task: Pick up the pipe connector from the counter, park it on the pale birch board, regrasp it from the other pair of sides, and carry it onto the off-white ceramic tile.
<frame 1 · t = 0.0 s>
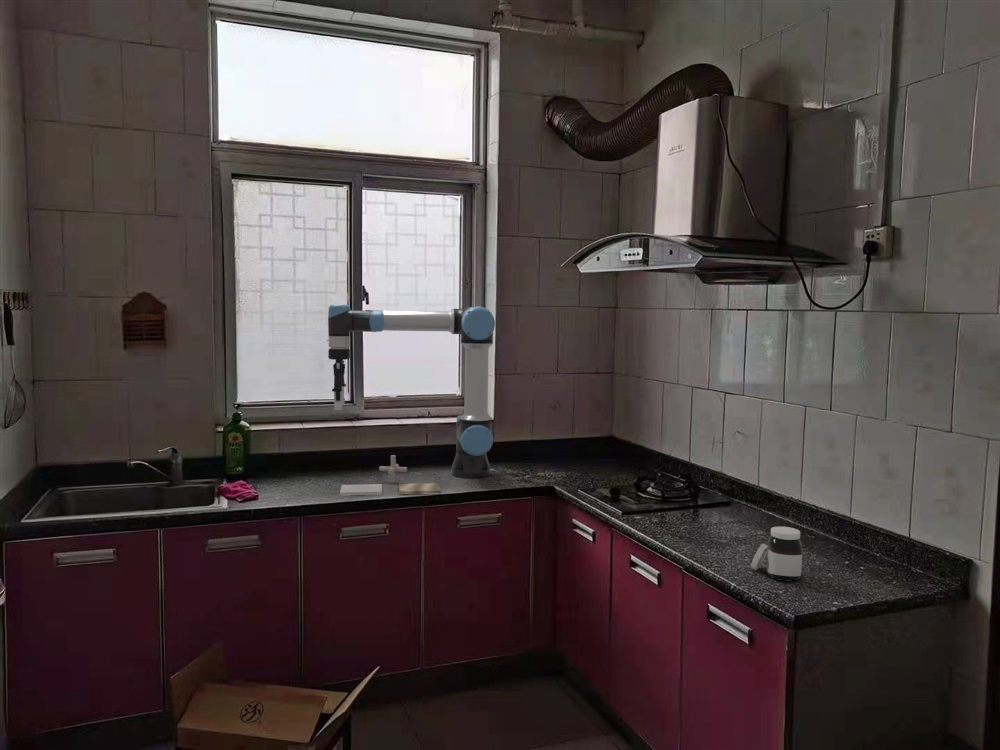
hand: (339, 407, 274), 28 cm above the worktop, tool pointing down, fingers open, 13 cm apart
pipe connector: (393, 483, 281), on the worktop
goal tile: (361, 491, 267), on the worktop
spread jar: (774, 575, 190), on the worktop
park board: (419, 490, 270), on the worktop
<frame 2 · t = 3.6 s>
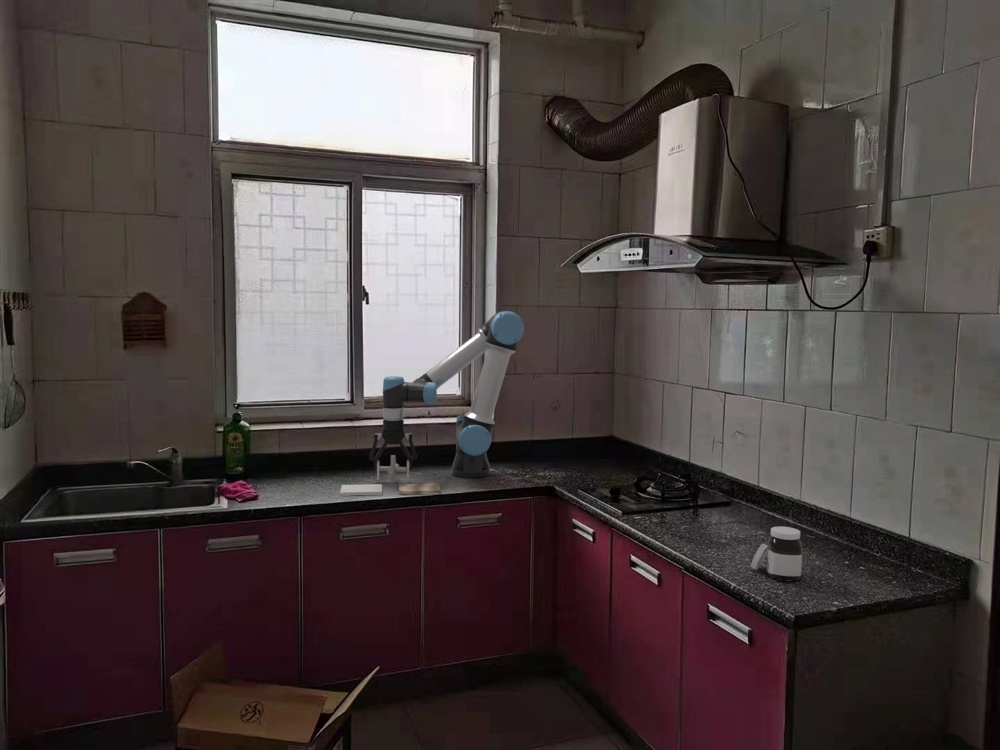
hand: (393, 479, 281), 1 cm above the worktop, tool pointing down, fingers closed on pipe connector, 10 cm apart
pipe connector: (393, 483, 281), on the worktop, touching gripper
everything else where it was.
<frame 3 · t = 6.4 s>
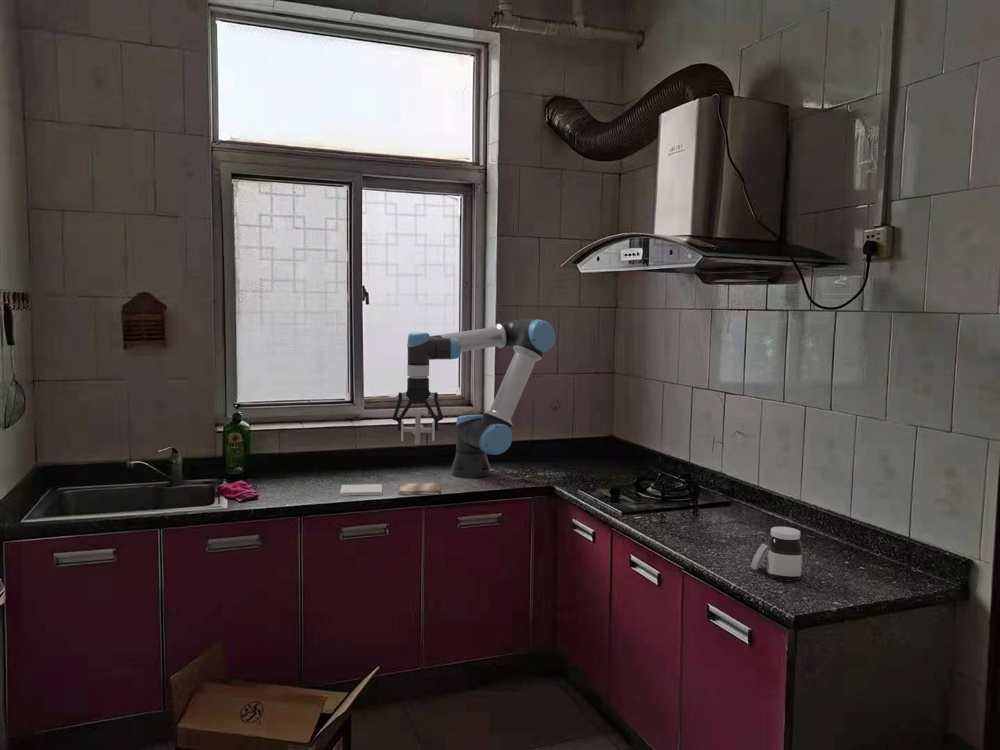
hand: (417, 440, 268), 18 cm above the worktop, tool pointing down, fingers closed on pipe connector, 10 cm apart
pipe connector: (417, 444, 269), point 16 cm above the worktop, touching gripper
everything else where it was.
when the fingers open (4 cm above the worktop, at t = 9.7 s): pipe connector drops 1 cm, resting on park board.
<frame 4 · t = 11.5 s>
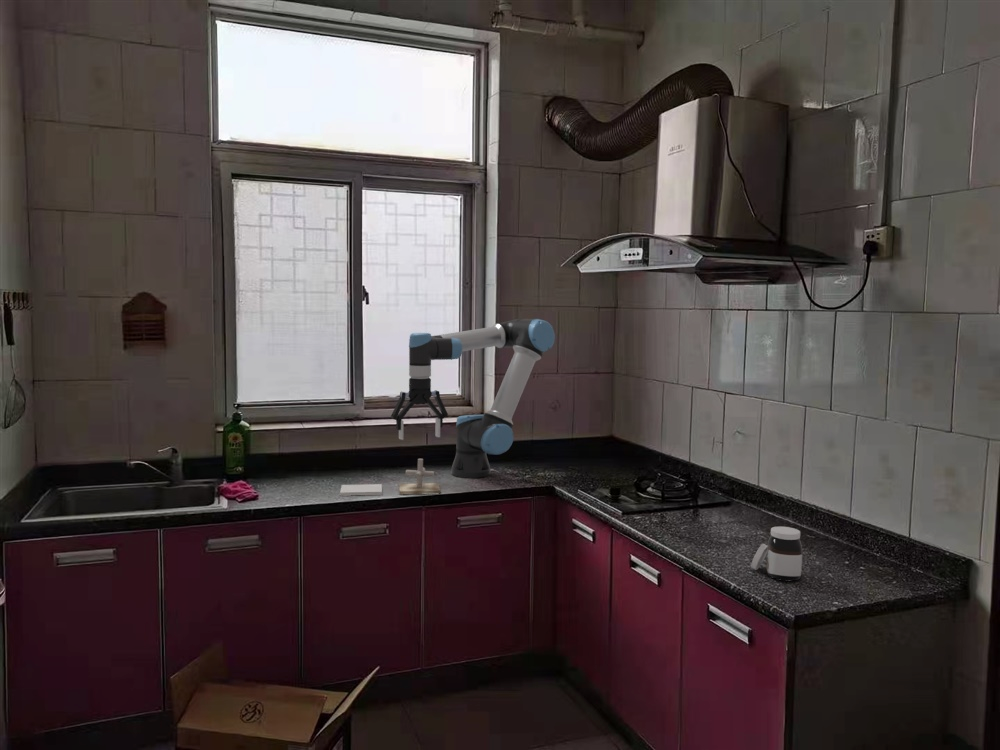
hand: (419, 438, 268), 19 cm above the worktop, tool pointing down, fingers open, 13 cm apart
pipe connector: (419, 487, 269), point 1 cm above the worktop, touching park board
everything else where it was.
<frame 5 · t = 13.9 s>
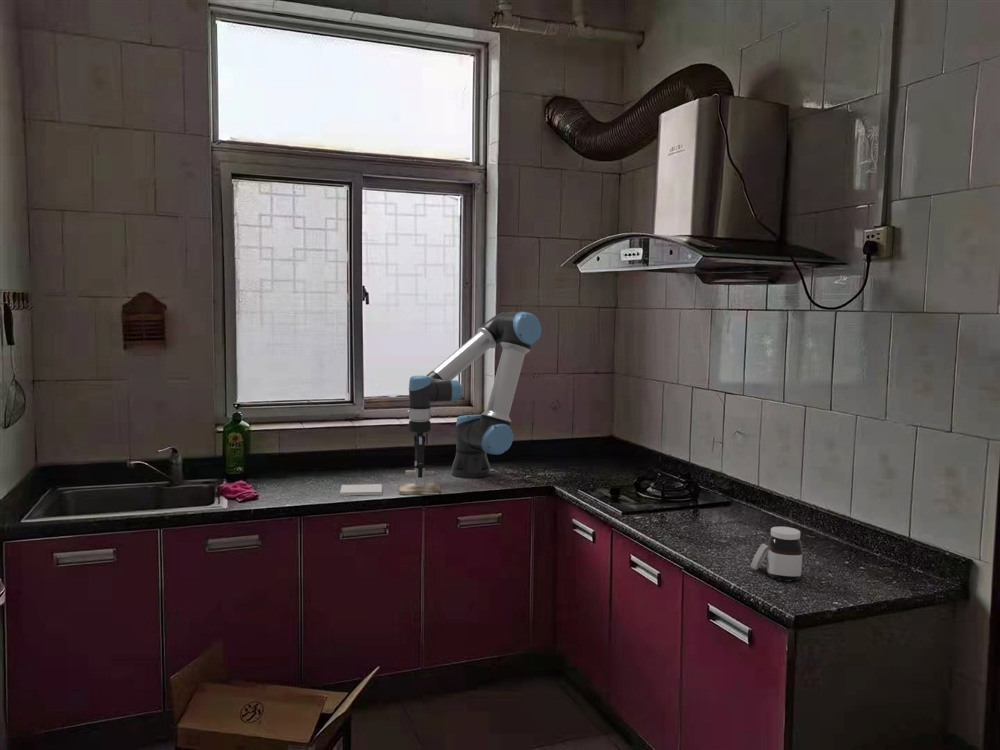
hand: (419, 482, 269), 3 cm above the worktop, tool pointing down, fingers closed on pipe connector, 10 cm apart
pipe connector: (419, 487, 269), point 1 cm above the worktop, touching gripper, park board
everything else where it was.
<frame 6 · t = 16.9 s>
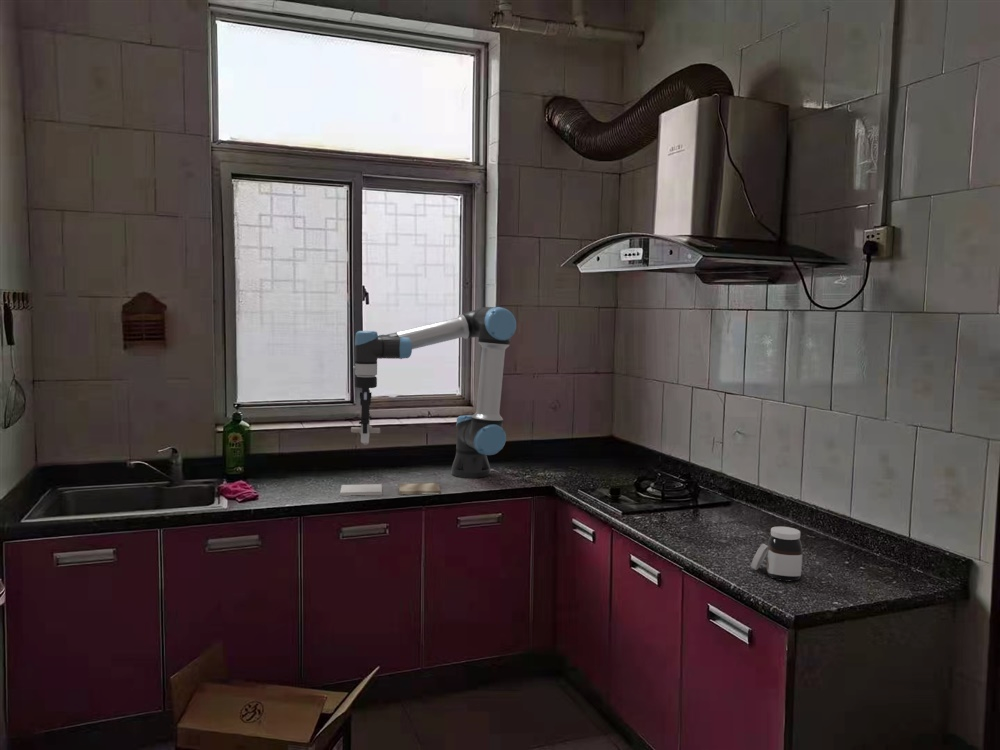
hand: (365, 439, 265), 18 cm above the worktop, tool pointing down, fingers closed on pipe connector, 10 cm apart
pipe connector: (365, 444, 265), point 16 cm above the worktop, touching gripper
everything else where it was.
when the fingers open (4 cm above the worktop, at t = 20.2 s): pipe connector drops 1 cm, resting on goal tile.
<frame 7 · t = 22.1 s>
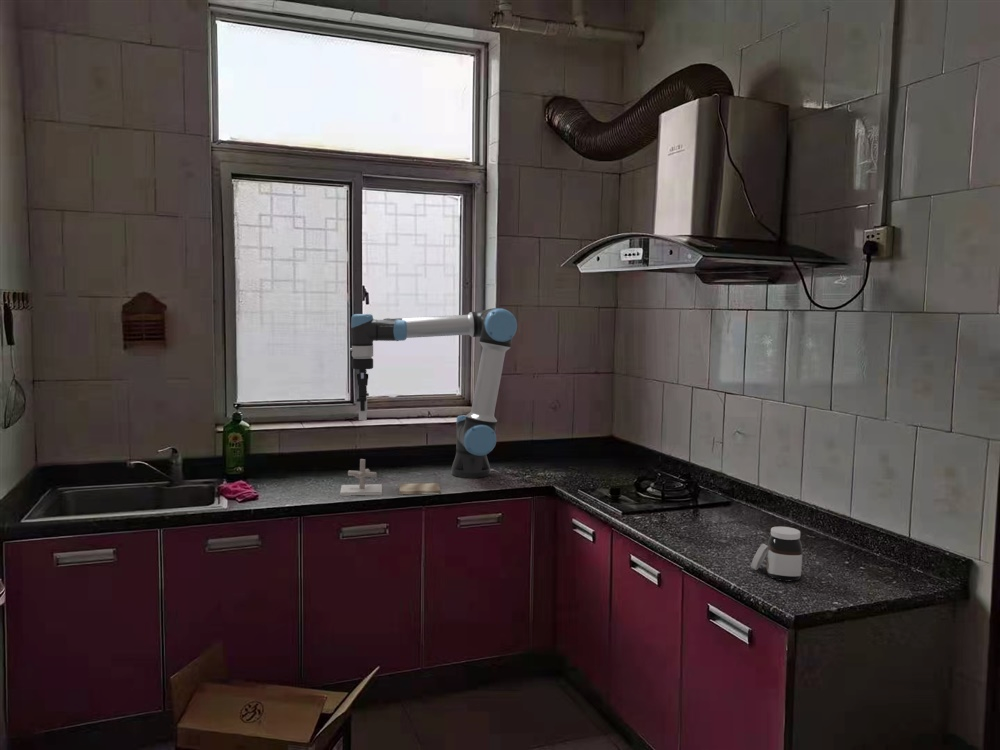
hand: (363, 417, 273), 25 cm above the worktop, tool pointing down, fingers open, 13 cm apart
pipe connector: (362, 488, 267), point 1 cm above the worktop, touching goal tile
everything else where it was.
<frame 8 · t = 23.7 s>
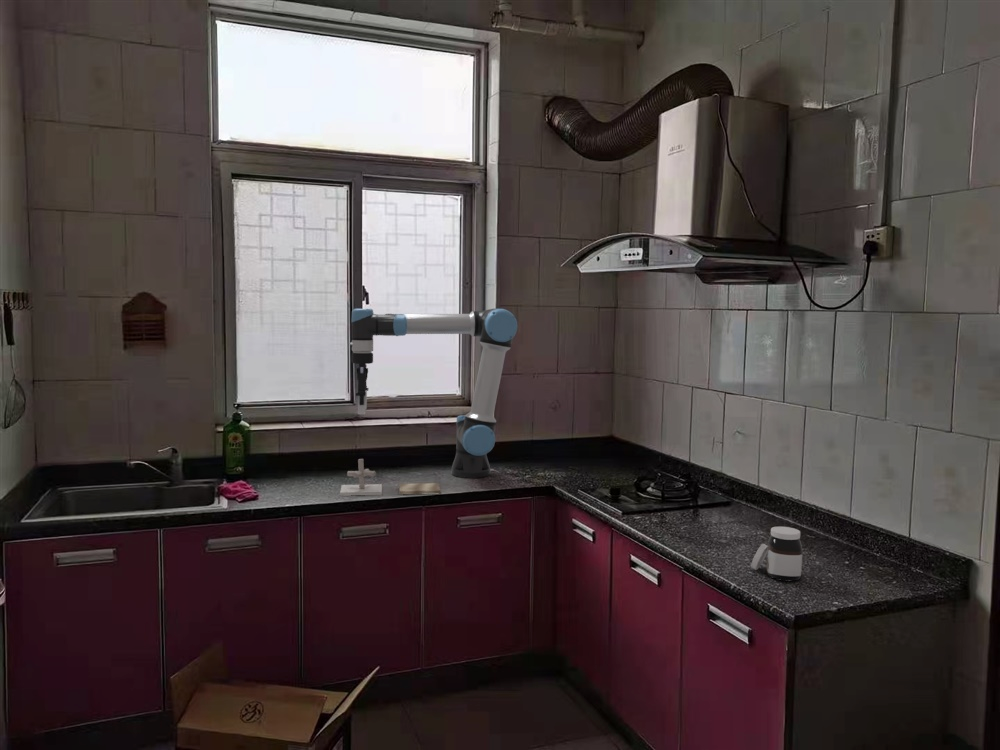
hand: (362, 411, 274), 27 cm above the worktop, tool pointing down, fingers open, 13 cm apart
nothing on the worktop moved.
at the end: pipe connector inside the target area on the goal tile (0.2 cm from its centre), point 1.0 cm above the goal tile's base; pipe connector tilted 2°; the gripper is holding nothing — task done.
